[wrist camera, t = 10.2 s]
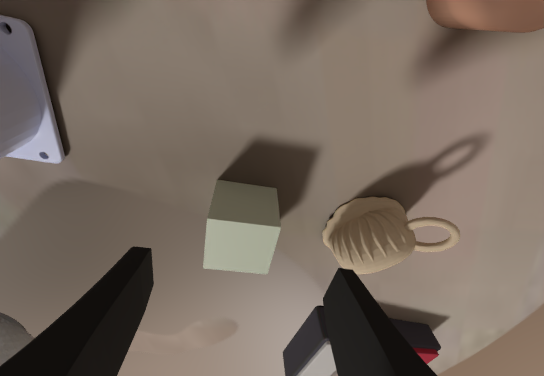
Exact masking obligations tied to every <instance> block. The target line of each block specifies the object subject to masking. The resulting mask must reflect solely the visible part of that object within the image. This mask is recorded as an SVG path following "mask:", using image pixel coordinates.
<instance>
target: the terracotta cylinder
mask: <svg viewBox="0 0 544 376" xmlns="http://www.w3.org/2000/svg"><path fill="white" fill-rule="evenodd" d="M426 2H427V8H428V11H429V14H430V16H431V17H432V19H433V20H434V21H435V22H436V23H437V24H439V25H440V26H443V27H445V28H454V29H470V30H486V31H503V32H519V33H525V32H532V31H536V30H539V29H542V28H544V0H426Z"/></svg>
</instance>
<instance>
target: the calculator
mask: <svg viewBox="0 0 544 376" xmlns="http://www.w3.org/2000/svg"><path fill="white" fill-rule="evenodd" d="M389 319H390V318H389ZM390 321H391V322H392V323H393V324H394V326H395V327H396V328H397V329H398V331H399V332H400V333H401V334H402V336H403V337H404V338H405V339H406V341H407V342H408V343H409V344H410V345H411V347H412V348H413V349H414V350H415V351H416V353H417V354H418V355H419V356H420V357H421V358H422V359H423V361H424V362H425V363H426V364H428V363H429V362H430V361H432V360H433V359H434V358H436V357H437V356H438V355H439V354H438V352H437V351H438V350H440V349H441V346H440V344H439V343H438V341H437V339H436V338H435V336H434V334H433V332H432V331H431V329H430V327H429V326H428V325H426V324H420V323H414V322H408V321H402V320H396V319H390ZM283 359H284V368H285V376H338V374H337V370H336V366H335V362H334V357H333V353H332V349H331V345H330V340H329V336H328V332H327V327H326V321H325V314H324V306H321V305H319V306H316V307H315V308H314V309H313V311H312V312H311V313H310V315H309V316H308V318H307V319H306V320H305V322H304V323H303V324H302V326H301V327H300V329H299V330H298V331H297V333H296V334H295V335H294V337H293V338H292V340H291V341H290V342H289V344H288V345H287V347H286V348H285V349H284V351H283Z"/></svg>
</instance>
